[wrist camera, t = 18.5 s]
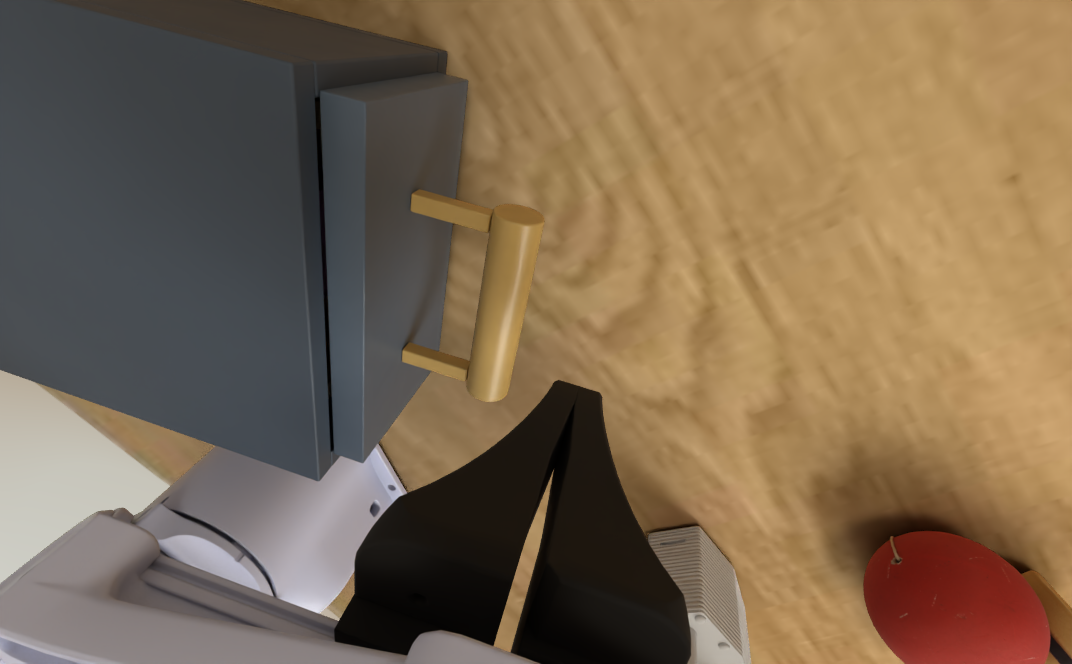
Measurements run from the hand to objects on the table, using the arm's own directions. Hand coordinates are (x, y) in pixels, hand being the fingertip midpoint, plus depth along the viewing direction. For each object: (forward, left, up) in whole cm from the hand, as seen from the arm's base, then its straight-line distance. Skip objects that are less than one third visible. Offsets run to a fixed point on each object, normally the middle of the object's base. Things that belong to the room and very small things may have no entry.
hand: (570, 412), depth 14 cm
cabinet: (+8, +13, -8) cm, 18 cm away
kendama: (-21, -14, -8) cm, 27 cm away
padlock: (-18, -1, -8) cm, 19 cm away
